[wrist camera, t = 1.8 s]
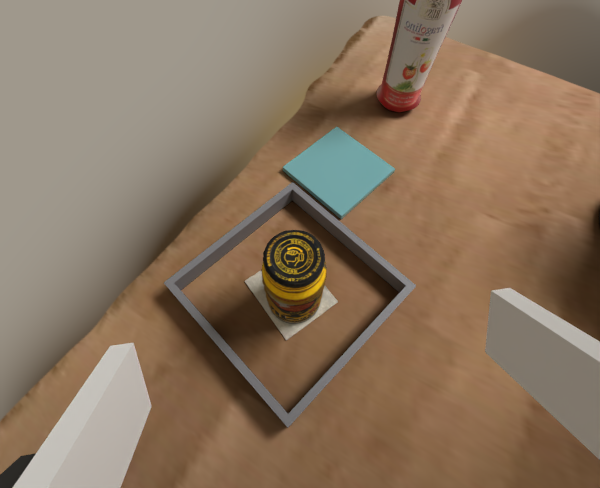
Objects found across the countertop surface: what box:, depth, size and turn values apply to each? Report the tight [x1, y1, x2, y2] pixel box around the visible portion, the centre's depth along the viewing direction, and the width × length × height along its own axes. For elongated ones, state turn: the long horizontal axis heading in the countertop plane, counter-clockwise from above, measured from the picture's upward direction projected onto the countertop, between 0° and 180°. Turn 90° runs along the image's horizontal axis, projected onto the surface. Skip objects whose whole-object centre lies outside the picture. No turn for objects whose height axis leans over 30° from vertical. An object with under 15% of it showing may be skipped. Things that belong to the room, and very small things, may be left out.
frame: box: [164, 182, 416, 427], centre depth 38 cm, size 20×20×2 cm
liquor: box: [377, 0, 462, 112], centre depth 42 cm, size 7×7×28 cm
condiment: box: [245, 230, 338, 340], centre depth 34 cm, size 7×8×12 cm
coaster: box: [283, 127, 395, 219], centre depth 47 cm, size 11×11×1 cm
